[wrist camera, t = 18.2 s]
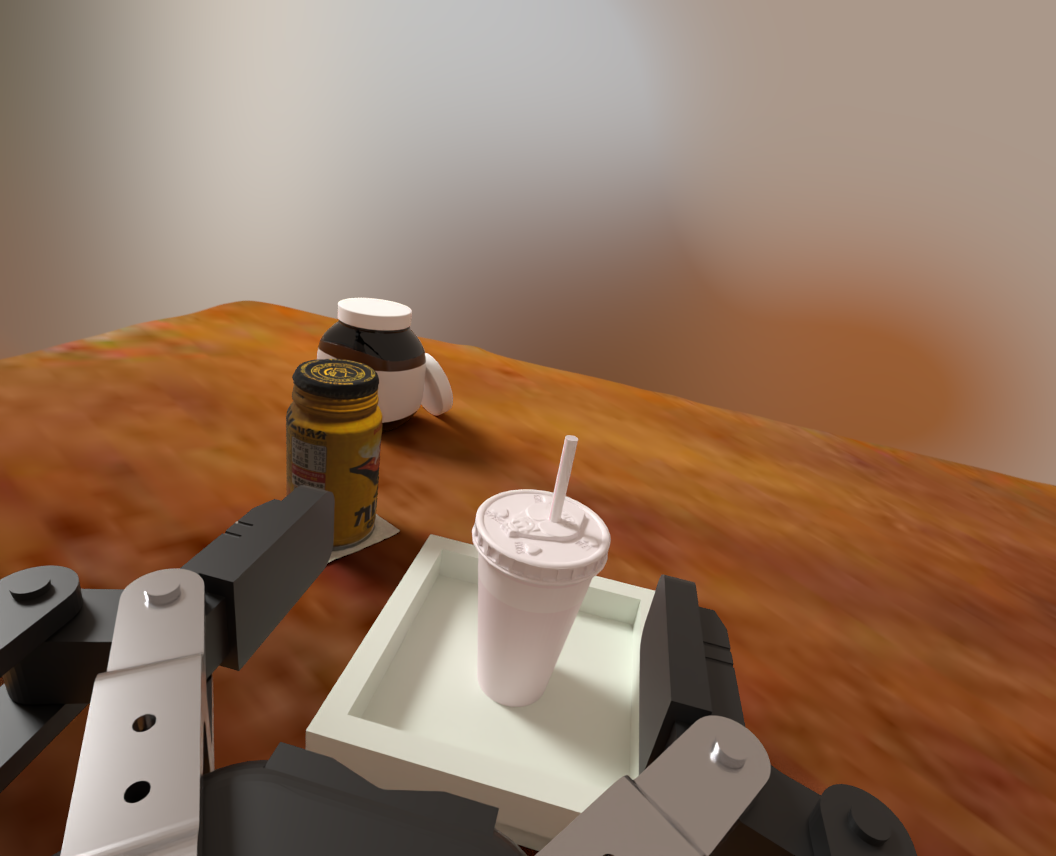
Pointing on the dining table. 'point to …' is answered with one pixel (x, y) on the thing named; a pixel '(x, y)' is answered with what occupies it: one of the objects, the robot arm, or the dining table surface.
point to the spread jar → (388, 357)
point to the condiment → (338, 446)
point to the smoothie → (532, 582)
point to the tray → (488, 702)
